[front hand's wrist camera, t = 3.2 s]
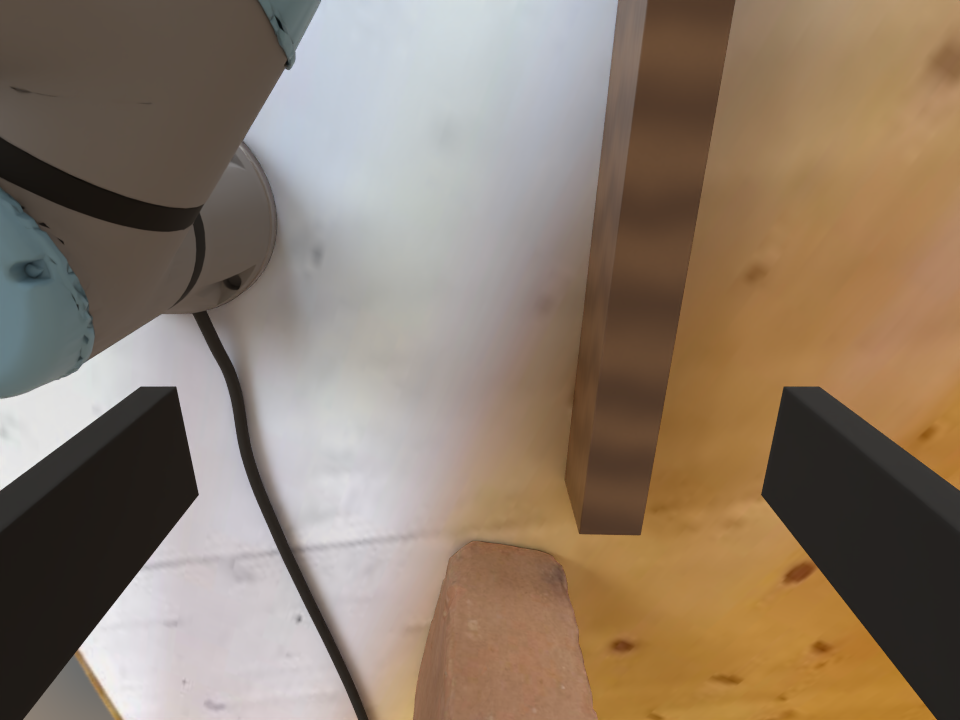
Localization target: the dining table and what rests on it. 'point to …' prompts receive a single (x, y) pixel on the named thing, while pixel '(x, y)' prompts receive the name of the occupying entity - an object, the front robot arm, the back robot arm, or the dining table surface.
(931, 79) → the dining table surface
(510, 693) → the stone
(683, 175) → the beam
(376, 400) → the dining table surface
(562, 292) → the dining table surface
